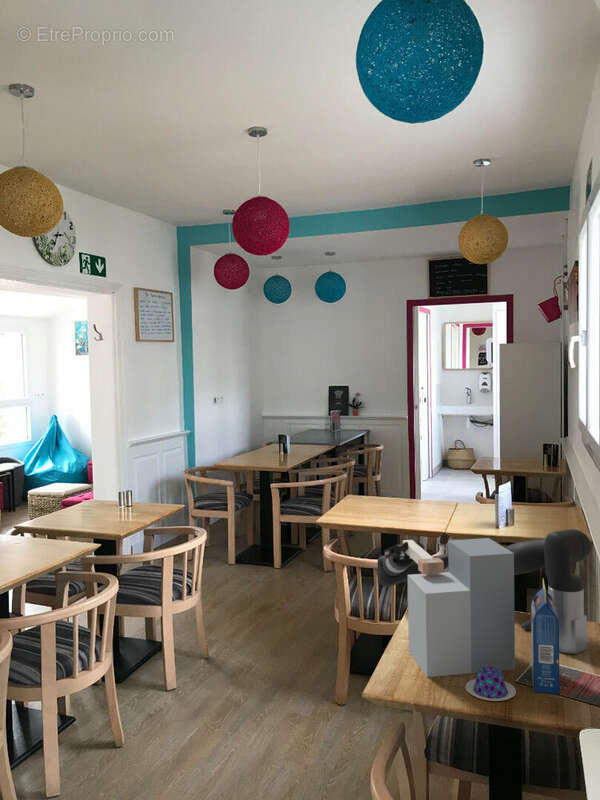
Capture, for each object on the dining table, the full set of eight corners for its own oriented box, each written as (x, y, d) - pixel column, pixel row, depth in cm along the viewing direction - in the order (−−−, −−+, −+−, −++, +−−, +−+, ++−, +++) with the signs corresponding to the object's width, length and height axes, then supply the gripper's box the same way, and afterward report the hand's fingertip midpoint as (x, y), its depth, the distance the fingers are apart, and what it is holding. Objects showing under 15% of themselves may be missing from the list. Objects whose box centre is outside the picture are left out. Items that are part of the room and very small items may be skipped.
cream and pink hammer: (443, 572, 187) (443, 561, 187) (422, 574, 186) (422, 563, 186) (416, 549, 211) (416, 539, 210) (398, 550, 210) (397, 540, 210)
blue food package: (556, 672, 176) (555, 578, 175) (560, 694, 164) (559, 593, 163) (531, 670, 178) (530, 576, 176) (532, 691, 166) (531, 591, 165)
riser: (515, 669, 178) (513, 553, 177) (427, 677, 175) (425, 559, 174) (490, 644, 194) (488, 538, 193) (408, 651, 191) (406, 543, 190)
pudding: (463, 699, 164) (462, 678, 164) (468, 677, 175) (467, 657, 175) (515, 707, 160) (514, 685, 160) (516, 684, 171) (516, 663, 171)
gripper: (376, 548, 220) (388, 534, 205) (418, 546, 222) (433, 531, 207) (379, 571, 217) (392, 558, 202) (422, 569, 219) (437, 555, 204)
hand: (412, 544), depth 205 cm, fingers closed on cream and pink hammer, 3 cm apart
